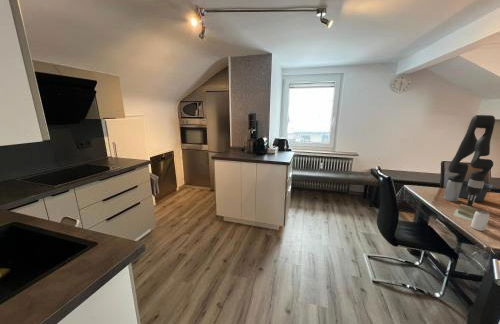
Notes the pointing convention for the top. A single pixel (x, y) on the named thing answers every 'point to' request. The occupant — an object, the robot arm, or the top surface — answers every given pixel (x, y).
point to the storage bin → (479, 196)
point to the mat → (462, 215)
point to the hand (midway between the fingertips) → (468, 208)
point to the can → (480, 220)
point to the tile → (467, 210)
